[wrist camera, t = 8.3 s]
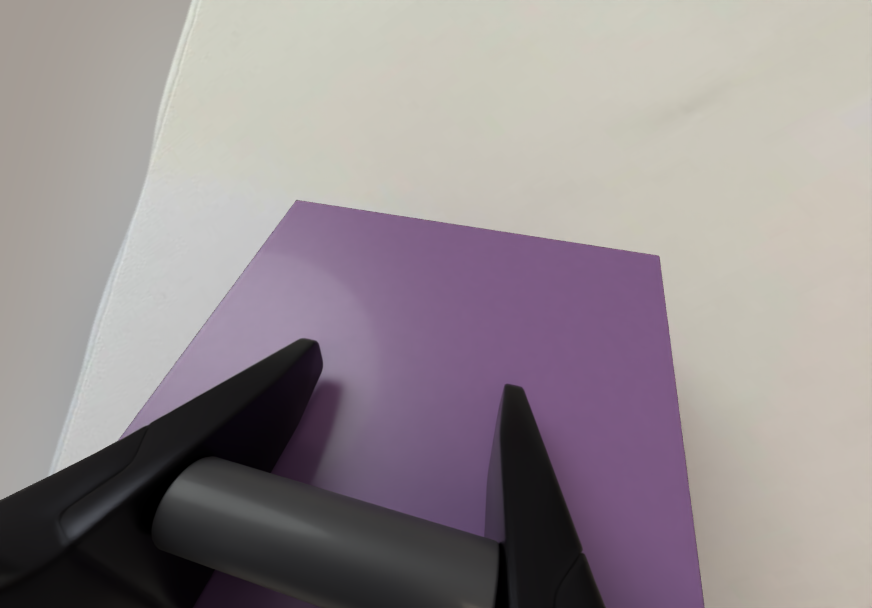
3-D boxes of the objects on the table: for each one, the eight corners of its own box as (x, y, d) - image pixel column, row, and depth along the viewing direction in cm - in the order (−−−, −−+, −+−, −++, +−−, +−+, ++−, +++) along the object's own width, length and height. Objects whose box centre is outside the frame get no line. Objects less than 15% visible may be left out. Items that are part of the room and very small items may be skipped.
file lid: (713, 829, 6) (991, 1106, 3) (48, 567, 8) (-184, 567, 5) (651, 267, 12) (713, 175, 10) (301, 211, 15) (264, 123, 12)
